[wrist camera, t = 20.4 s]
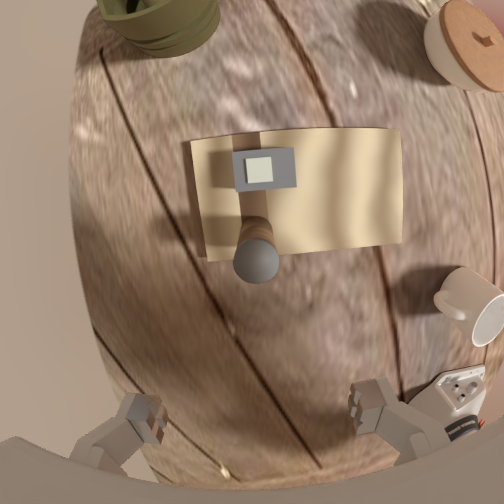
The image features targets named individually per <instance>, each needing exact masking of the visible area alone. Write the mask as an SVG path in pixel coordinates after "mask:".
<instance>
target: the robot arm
mask: <svg viewBox="0 0 504 504" xmlns="http://www.w3.org/2000/svg"><path fill="white" fill-rule="evenodd" d="M484 373H485V367H484V365H483V364H481V365H477V366H472V367H468V368H463V369H458V370H453V371H448V372H443V373H441V374H440V375H439V376H438V377H437V378H436V379H435V380H434V381H433V382H432V384H430V385H429V386H428V387H426V388H425V389H424V390H422V391H421V392H420V393H419V394H417V395H416V396H415V397H414V398H413V399H412V400H411V401H410V402H409V404H406V403H404V402H402V401H401V402H399V401H398V399H397V397H396V395H395V393H394V391H393V389H392V387H391V385H390V383H389V381H388V379H387V377H386V376H383V377H379V378H374V379H369V380H365V381H360V382H356V383H352V384H351V387H350V391H351V394H350V395H349V399H348V407H349V412H350V416H352V417H353V418H354V420H353V426H354V429H355V433H356V435H359V434H364V433H369V432H373V431H375V432H376V433H377V434H378V435H379V436H380V437H382V438H383V439H384V440H385V441H387V442H388V443H389V444H390V445H391V446H393V447H394V448H395V449H396V450H398V451H399V452H400V453H401V454H400V455H399V457H398V459H397V460H396V462H395V463H394V467H391V468H387V469H384V470H381V471H377V472H374V473H370V474H366V475H362V476H358V477H353V478H349V479H344V480H339V481H334V482H328V483H322V484H316V485H308V486H300V487H291V488H279V489H260V490H223V489H205V488H193V487H184V486H176V485H168V484H162V483H155V482H150V481H145V480H140V479H135V478H131V477H127V476H128V475H127V473H126V472H125V471H124V470H123V469H122V468H121V467H120V466H121V465H122V464H123V463H124V462H125V461H126V460H127V459H128V458H130V457H131V455H133V454H134V453H135V452H136V451H137V450H138V449H139V448H140V447H141V446H142V445H143V444H144V443H151V444H160V445H161V442H162V439H163V436H164V432H163V430H162V429H163V428H164V427H166V425H167V421H168V414H167V410H166V408H165V407H164V406H163V405H161V402H162V400H161V398H160V396H157V395H147V394H137V393H129V392H128V393H127V394H126V395H125V397H124V399H123V401H122V403H121V406H120V408H119V410H118V412H117V414H116V416H115V417H112V418H110V419H109V420H107V421H106V422H105V423H103V424H101V425H100V426H98V427H97V428H95V429H94V430H92V431H91V432H90V433H88V434H86V435H85V436H83V437H82V438H80V439H78V441H77V443H76V445H75V447H74V449H73V451H72V453H71V455H70V457H69V459H68V458H65V457H63V456H60V455H58V454H55V453H53V452H50V451H48V450H46V449H43V448H41V447H39V446H37V445H35V444H33V443H31V442H29V441H27V440H25V439H23V438H21V437H17V436H15V437H12V438H9V439H7V440H5V441H3V442H1V443H0V504H504V415H503V416H501V417H500V418H498V419H497V420H495V421H494V422H492V423H490V424H488V425H487V426H485V427H483V428H482V429H480V428H481V427H482V425H483V423H484V422H483V423H482V421H483V419H482V420H481V421H480V422H479V424H478V419H477V415H478V413H479V410H480V407H481V405H482V403H483V400H484V397H485V394H486V389H485V385H484V383H483V381H482V379H483V376H484ZM481 423H482V424H481Z"/></svg>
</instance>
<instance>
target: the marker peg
mask: <svg viewBox="0 0 504 504" xmlns="http://www.w3.org/2000/svg"><path fill="white" fill-rule="evenodd" d="M233 266H234V270H235V272H236V274H237V275H238V276H239V277H240V278H241V279H242V280H244V281H246V282H248V283H252V284H260V283H264V282H267V281H268V280H270V279H271V278H273V277H274V275H275V274H276V272H277V270H278V268H279V257H278V252H277V250H276V245H275V240H274V235H273V229H272V226H271V224H270V222H269V221H268V220H267V219H265V218H263V217H261V216H252V217H250V218H248V219H246V220H245V221H244V222H243V224H242V226H241V230H240V234H239V239H238V243H237V248H236V251H235V254H234V258H233Z"/></svg>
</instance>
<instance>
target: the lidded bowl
mask: <svg viewBox="0 0 504 504" xmlns="http://www.w3.org/2000/svg"><path fill="white" fill-rule="evenodd" d="M424 45H425V49H426V54H427V57H428V59H429V61H430V63H431V64H432V66H433V67H434V69H435V70H436V71H437V72H438V73H439V74H440V75H442V76H443V77H444V78H445V79H446V80H447V81H448V82H450V83H451V84H453V85H455V86H456V87H458V88H461V89H463V90H466V91H470V92H479V93H488V92H504V39H503V37H502V36H501V34H500V32H499V31H498V29H497V28H496V26H495V25H494V24H493V23H492V21H491V20H490V19H489V18H488V17H487V16H486V15H485V14H484V13H483V12H481V11H480V10H479V9H478V8H476V7H475V6H473V5H472V4H470V3H468V2H465V1H462V0H450V1H448V2H446V3H445V4H444V5H443V6H442V7H441V8H439V9H438V10H437V11H436V12H435V13H434V14H433V15H432V16H431V17H430V18H429V20H428V21H427V23H426V26H425V29H424Z"/></svg>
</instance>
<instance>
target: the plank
mask: <svg viewBox="0 0 504 504" xmlns="http://www.w3.org/2000/svg"><path fill="white" fill-rule="evenodd" d="M288 147H294V156H295V168H296V182H297V187H295V188H281V189H268V190H256V191H245V192H236V189H235V180H234V170H233V160H232V152H238V151H249V150H260V149H273V148H288ZM191 150H192V158H193V166H194V173H195V181H196V188H197V195H198V202H199V209H200V215H201V222H202V228H203V234H204V241H205V247H206V253H207V259H208V262H211V261H222V260H233V258H234V254H235V251H236V248H237V243H238V239H239V234H240V230H241V226H242V224H243V222H244V221H245V220H246V219H248V218H250V217H252V216H261V217H263V218H265V219H267V220H268V221H269V222H270V224H271V226H272V229H273V235H274V240H275V245H276V250H277V252H278V255H286V254H296V253H306V252H316V251H327V250H337V249H347V248H357V247H367V246H377V245H386V244H396V243H401V240H402V215H403V180H402V156H401V141H400V130H398V129H379V128H312V129H292V130H277V131H265V132H255V133H246V134H237V135H229V136H221V137H214V138H208V139H201V140H195V141H191Z"/></svg>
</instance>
